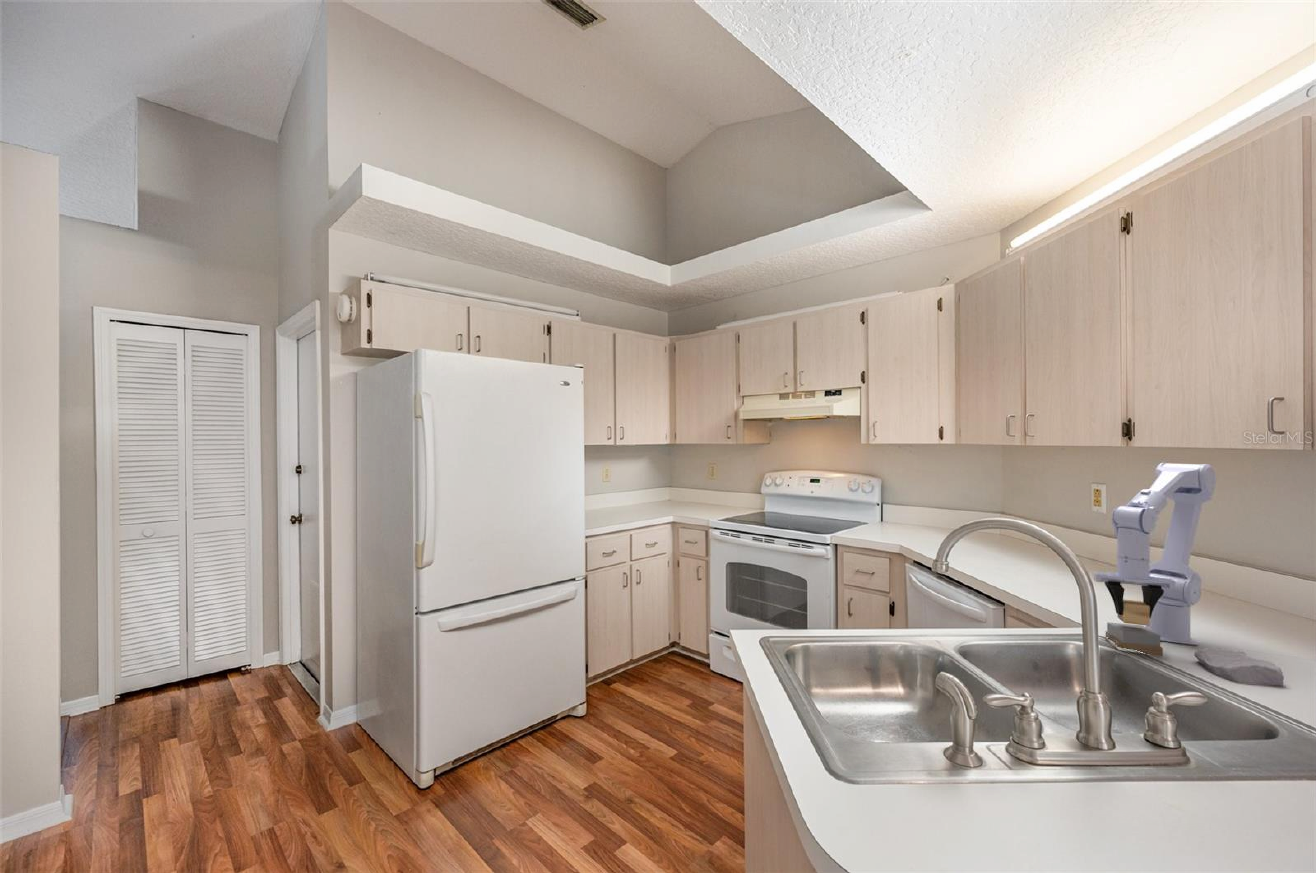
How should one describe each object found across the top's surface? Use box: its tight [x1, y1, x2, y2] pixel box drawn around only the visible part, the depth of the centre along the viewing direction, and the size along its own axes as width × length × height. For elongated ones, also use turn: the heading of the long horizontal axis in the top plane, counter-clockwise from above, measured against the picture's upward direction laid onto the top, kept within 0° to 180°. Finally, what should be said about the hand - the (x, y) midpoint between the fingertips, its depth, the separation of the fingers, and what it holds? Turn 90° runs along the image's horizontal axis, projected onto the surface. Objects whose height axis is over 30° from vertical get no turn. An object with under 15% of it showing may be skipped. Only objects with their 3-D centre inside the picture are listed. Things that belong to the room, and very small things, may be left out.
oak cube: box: [1117, 598, 1150, 626], centre depth 126 cm, size 4×4×4 cm
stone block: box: [1193, 647, 1285, 687], centre depth 113 cm, size 12×5×10 cm
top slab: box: [1106, 622, 1161, 646], centre depth 126 cm, size 7×7×2 cm
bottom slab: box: [1105, 630, 1164, 657], centre depth 126 cm, size 8×8×2 cm
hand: (1133, 615), depth 126 cm, fingers closed on oak cube, 4 cm apart
